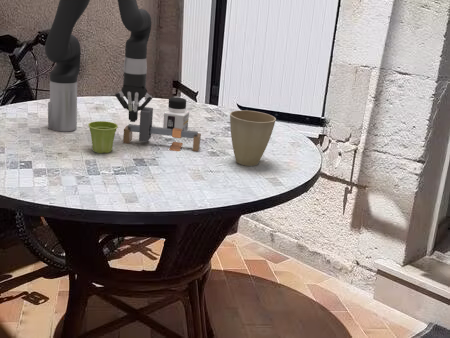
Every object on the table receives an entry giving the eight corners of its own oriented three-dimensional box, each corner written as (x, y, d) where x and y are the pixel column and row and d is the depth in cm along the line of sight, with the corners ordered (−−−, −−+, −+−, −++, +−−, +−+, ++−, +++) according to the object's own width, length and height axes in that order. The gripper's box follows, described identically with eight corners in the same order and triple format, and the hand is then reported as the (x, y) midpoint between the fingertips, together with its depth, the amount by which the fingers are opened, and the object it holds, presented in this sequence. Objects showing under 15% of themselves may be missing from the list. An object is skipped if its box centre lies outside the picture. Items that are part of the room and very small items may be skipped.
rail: (121, 144, 190) (122, 126, 188) (127, 137, 199) (128, 120, 197) (197, 153, 190) (199, 135, 187) (200, 145, 198) (201, 128, 196)
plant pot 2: (255, 173, 176) (262, 124, 171) (216, 161, 183) (221, 114, 178) (277, 163, 188) (283, 117, 183) (239, 152, 195) (244, 107, 190)
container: (182, 135, 208) (184, 101, 203) (162, 132, 209) (164, 98, 205) (187, 130, 215) (190, 97, 211) (168, 127, 216) (170, 94, 212)
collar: (138, 141, 190) (140, 111, 187) (143, 135, 197) (144, 106, 194) (147, 141, 190) (149, 112, 187) (151, 136, 197) (153, 107, 193)
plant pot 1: (122, 149, 185) (123, 124, 182) (107, 157, 177) (108, 130, 174) (97, 144, 188) (98, 119, 185) (81, 151, 179) (82, 125, 177)
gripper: (112, 70, 183) (111, 122, 188) (152, 75, 182) (149, 126, 188) (118, 67, 190) (116, 116, 196) (156, 71, 189) (154, 120, 195)
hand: (133, 121), depth 192 cm, fingers closed
